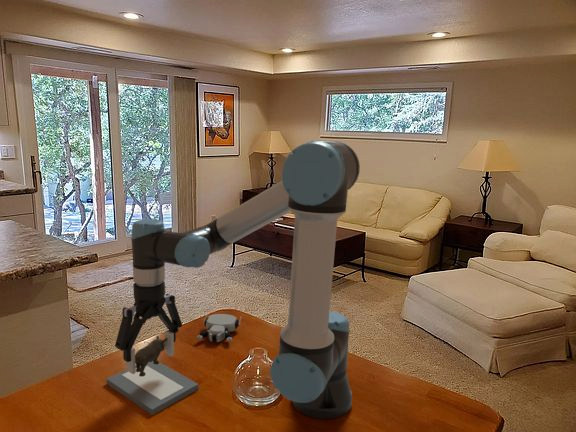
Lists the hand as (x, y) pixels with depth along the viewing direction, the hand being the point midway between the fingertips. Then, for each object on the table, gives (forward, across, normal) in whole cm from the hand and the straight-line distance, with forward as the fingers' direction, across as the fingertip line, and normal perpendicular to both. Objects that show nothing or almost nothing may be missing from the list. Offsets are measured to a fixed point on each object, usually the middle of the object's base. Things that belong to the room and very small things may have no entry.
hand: (151, 362), depth 113 cm
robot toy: (+7, -32, -9) cm, 34 cm away
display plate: (+7, 0, 0) cm, 7 cm away
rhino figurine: (0, 0, 0) cm, 1 cm away
